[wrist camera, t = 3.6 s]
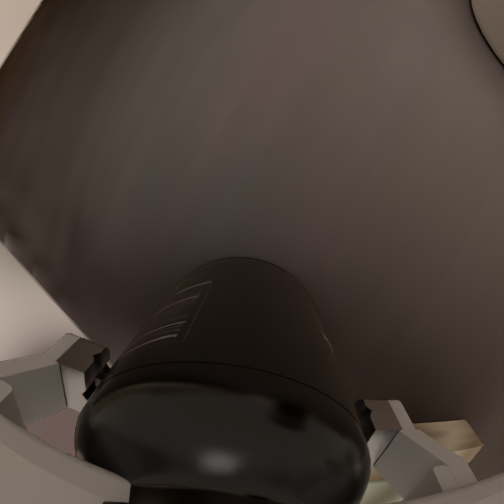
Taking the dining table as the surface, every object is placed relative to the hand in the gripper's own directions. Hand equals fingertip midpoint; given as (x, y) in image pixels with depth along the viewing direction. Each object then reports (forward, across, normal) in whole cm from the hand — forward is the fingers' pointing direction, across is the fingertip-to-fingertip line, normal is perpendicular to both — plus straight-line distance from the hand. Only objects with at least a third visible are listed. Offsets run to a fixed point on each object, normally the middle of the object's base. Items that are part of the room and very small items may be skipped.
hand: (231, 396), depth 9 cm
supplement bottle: (+5, 0, 0) cm, 5 cm away
